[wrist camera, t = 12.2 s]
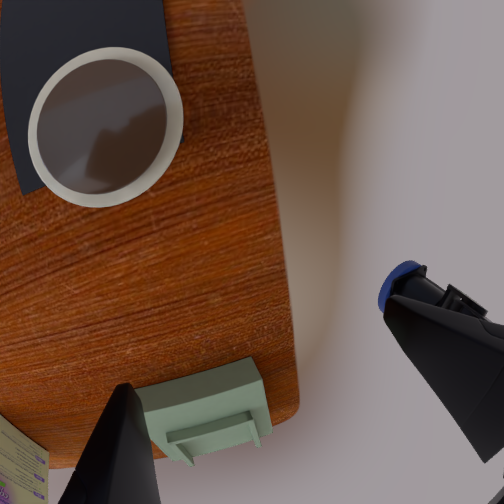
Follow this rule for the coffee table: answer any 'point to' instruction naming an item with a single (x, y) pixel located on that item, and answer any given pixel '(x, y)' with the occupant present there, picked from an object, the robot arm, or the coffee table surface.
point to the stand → (207, 411)
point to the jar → (105, 127)
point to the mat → (64, 53)
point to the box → (21, 468)
